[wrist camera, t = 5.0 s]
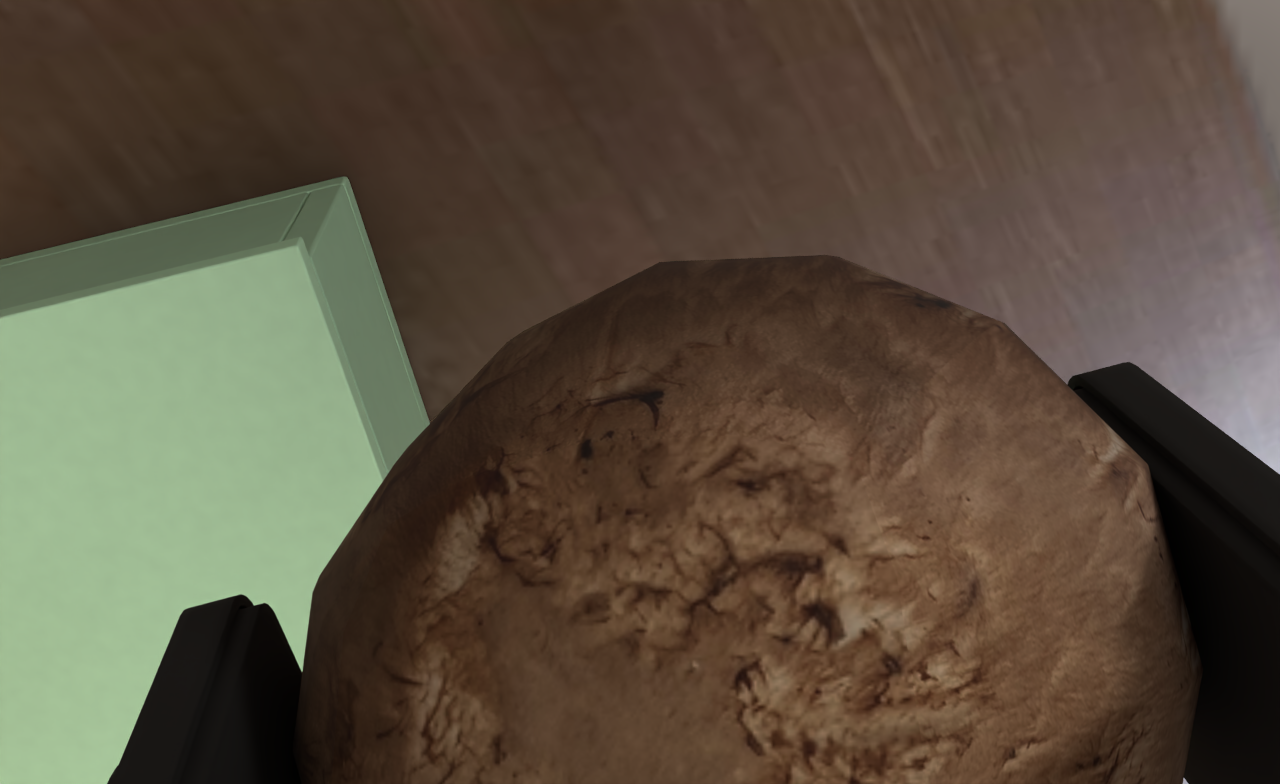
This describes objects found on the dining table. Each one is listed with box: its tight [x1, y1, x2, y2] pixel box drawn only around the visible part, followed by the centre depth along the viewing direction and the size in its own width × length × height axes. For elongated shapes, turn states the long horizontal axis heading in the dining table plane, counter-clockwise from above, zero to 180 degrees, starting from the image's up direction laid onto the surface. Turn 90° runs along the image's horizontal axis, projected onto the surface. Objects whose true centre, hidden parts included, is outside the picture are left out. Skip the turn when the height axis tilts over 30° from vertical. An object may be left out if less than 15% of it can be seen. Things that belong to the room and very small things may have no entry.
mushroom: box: [292, 255, 1203, 784], centre depth 11 cm, size 8×8×6 cm
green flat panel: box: [0, 237, 387, 784], centre depth 24 cm, size 15×12×1 cm
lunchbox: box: [0, 176, 430, 474], centre depth 27 cm, size 15×12×6 cm
